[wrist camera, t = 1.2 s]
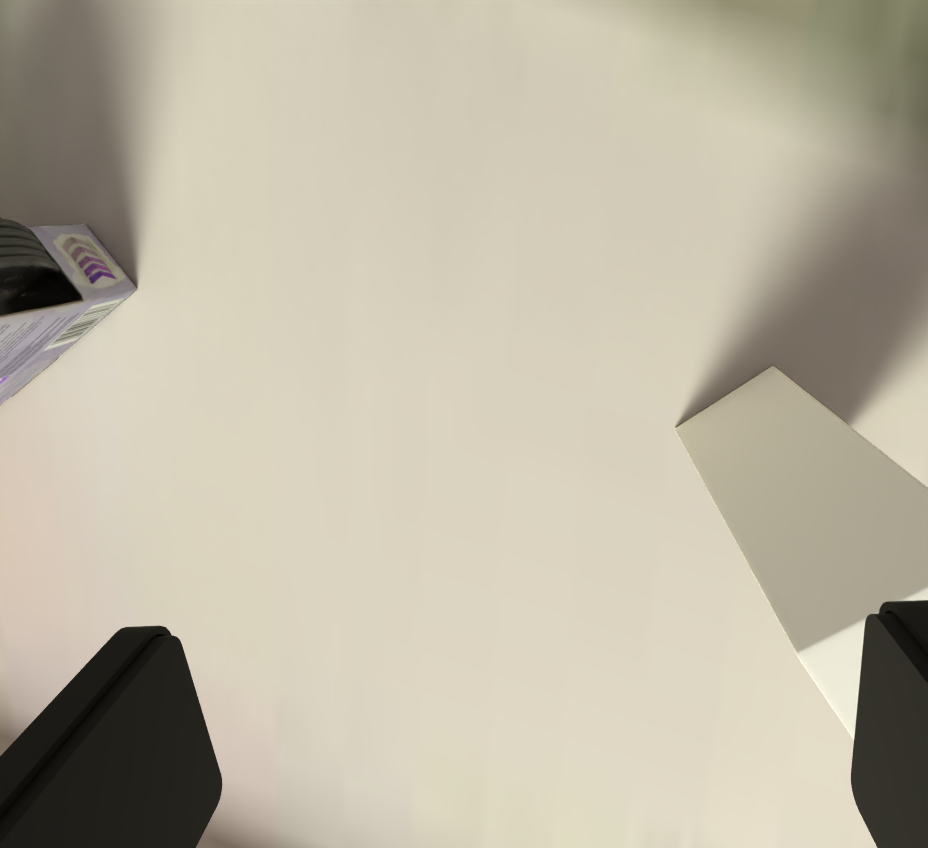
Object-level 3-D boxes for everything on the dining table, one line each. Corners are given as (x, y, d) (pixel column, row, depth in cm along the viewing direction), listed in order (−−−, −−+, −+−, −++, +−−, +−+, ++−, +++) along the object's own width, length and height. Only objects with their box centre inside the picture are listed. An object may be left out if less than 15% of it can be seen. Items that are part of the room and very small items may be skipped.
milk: (672, 428, 37) (834, 736, 16) (774, 362, 35) (1098, 616, 15) (733, 510, 38) (954, 894, 18) (834, 451, 36) (1211, 801, 16)
